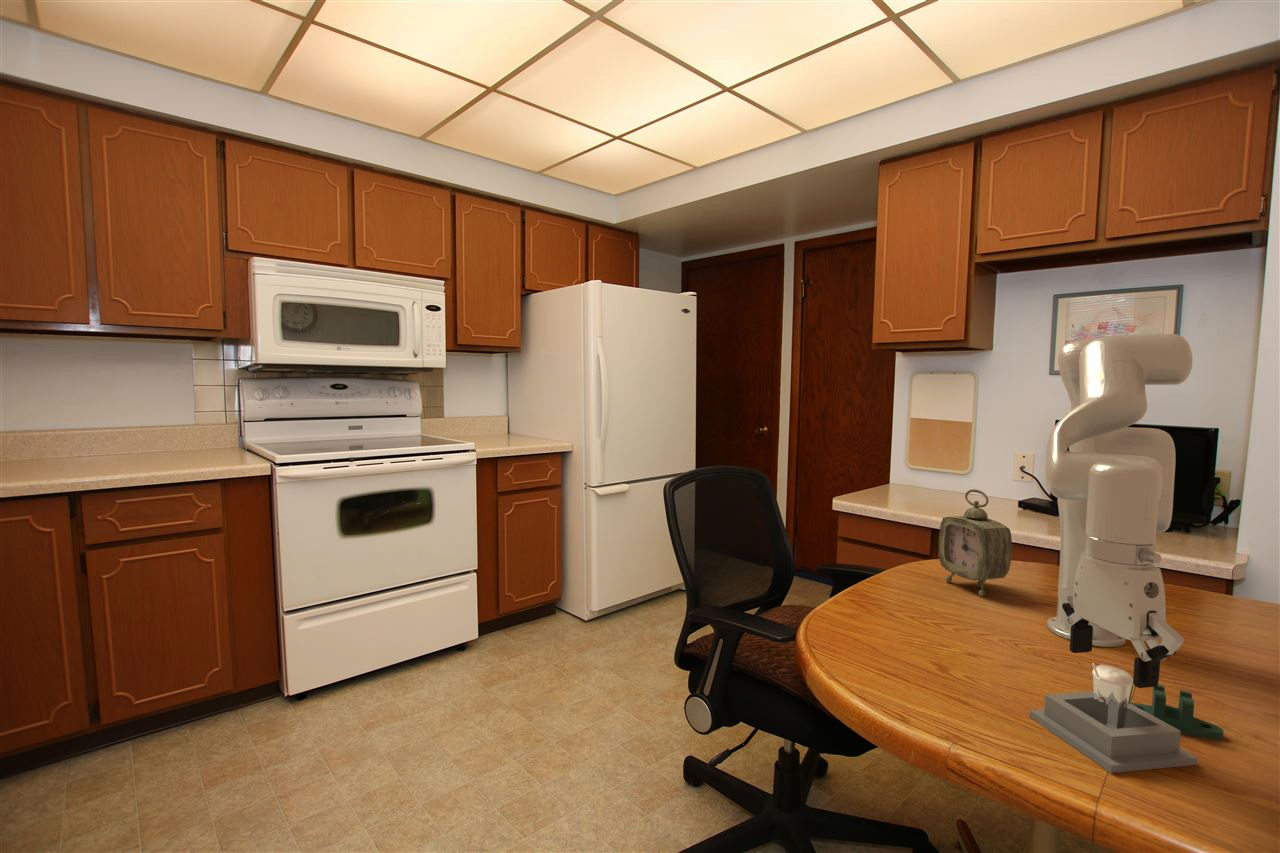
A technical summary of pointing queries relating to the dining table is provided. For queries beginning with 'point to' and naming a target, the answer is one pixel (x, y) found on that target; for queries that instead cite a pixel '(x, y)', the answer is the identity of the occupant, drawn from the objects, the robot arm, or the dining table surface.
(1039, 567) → the dining table surface
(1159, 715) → the mount
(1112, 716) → the milkshake
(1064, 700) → the socket
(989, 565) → the tabletop clock
